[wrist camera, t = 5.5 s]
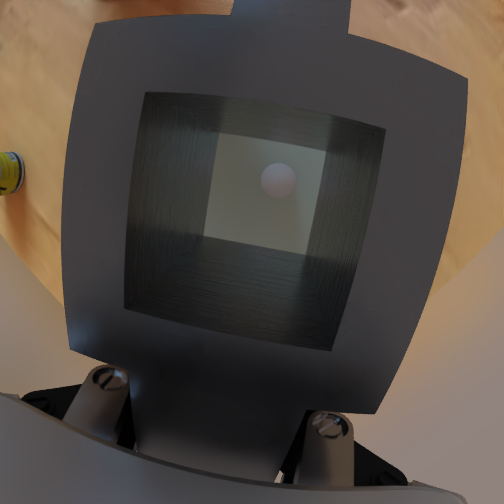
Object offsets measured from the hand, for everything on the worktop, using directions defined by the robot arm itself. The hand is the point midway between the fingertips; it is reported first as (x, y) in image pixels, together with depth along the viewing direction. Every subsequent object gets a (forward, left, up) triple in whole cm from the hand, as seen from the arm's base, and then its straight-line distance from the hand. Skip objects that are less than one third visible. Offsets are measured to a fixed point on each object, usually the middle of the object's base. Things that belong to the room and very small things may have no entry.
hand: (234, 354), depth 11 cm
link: (-4, 0, -1) cm, 4 cm away
